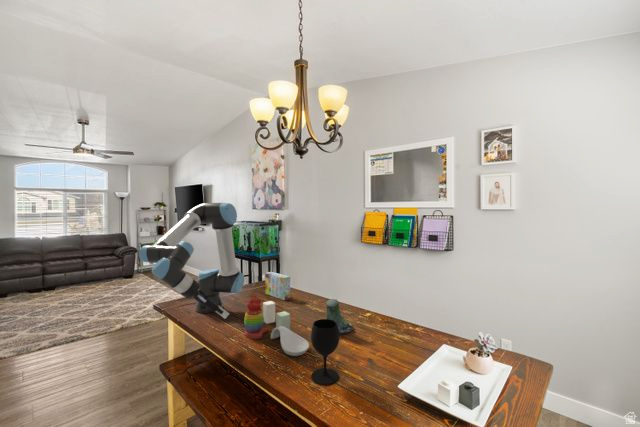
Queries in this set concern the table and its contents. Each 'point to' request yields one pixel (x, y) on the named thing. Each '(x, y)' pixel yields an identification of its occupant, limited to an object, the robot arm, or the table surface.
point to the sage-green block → (283, 320)
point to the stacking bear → (254, 319)
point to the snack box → (277, 285)
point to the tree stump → (337, 317)
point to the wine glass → (325, 349)
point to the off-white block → (269, 312)
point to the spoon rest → (290, 341)
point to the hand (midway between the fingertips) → (226, 315)
